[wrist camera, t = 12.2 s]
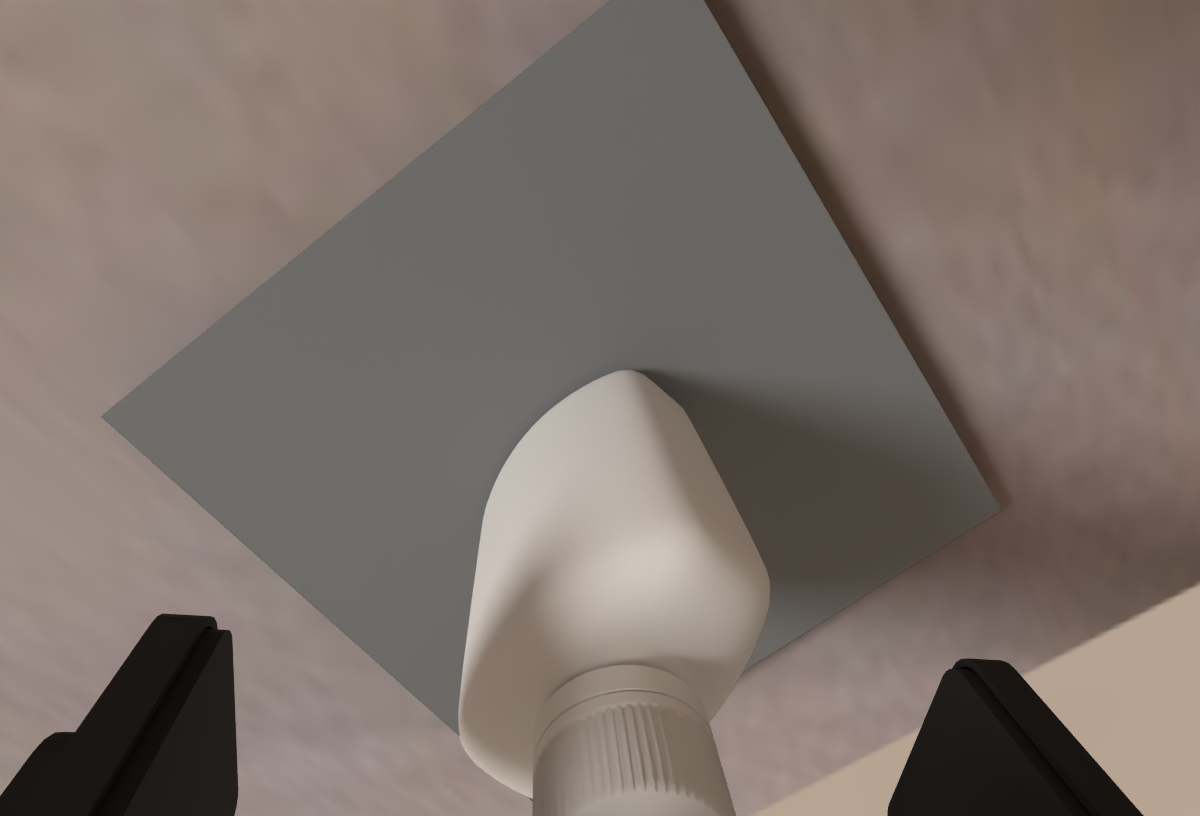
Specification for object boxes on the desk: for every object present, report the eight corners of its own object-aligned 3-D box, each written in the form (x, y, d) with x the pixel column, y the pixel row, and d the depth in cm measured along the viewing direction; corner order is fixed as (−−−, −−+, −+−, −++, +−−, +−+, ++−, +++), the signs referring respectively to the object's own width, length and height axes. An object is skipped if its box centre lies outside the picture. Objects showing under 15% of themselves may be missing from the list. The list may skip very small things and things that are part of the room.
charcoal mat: (123, 400, 18) (100, 416, 17) (665, -41, 15) (673, -52, 14) (533, 774, 23) (533, 802, 22) (980, 492, 21) (1001, 509, 20)
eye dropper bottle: (713, 502, 19) (973, 1048, 8) (509, 570, 19) (469, 1196, 8) (666, 348, 17) (903, 751, 6) (443, 425, 17) (277, 949, 6)
